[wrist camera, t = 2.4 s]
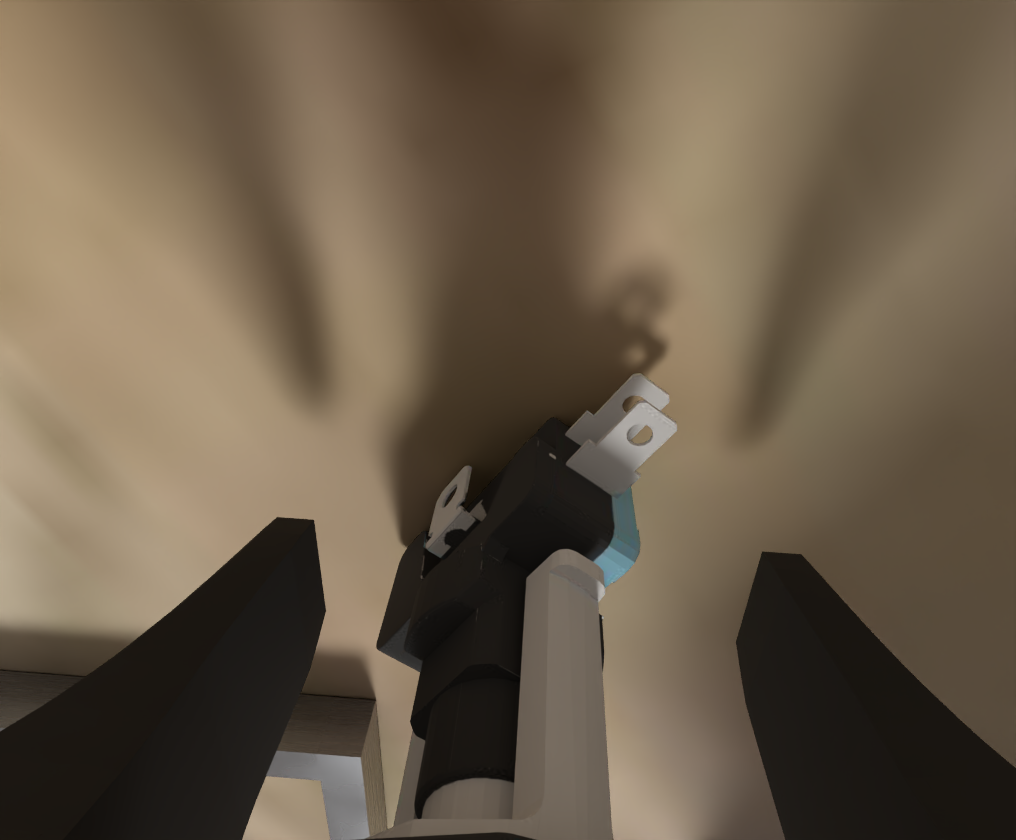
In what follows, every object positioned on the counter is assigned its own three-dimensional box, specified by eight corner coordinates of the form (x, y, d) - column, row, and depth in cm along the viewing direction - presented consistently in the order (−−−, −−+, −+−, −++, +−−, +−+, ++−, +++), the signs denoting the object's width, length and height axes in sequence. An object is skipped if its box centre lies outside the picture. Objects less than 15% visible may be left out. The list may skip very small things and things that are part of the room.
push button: (531, 280, 12) (446, 1099, 3) (765, 452, 13) (1159, 1347, 4) (333, 528, 15) (7, 1296, 6) (540, 646, 16) (516, 1407, 7)
